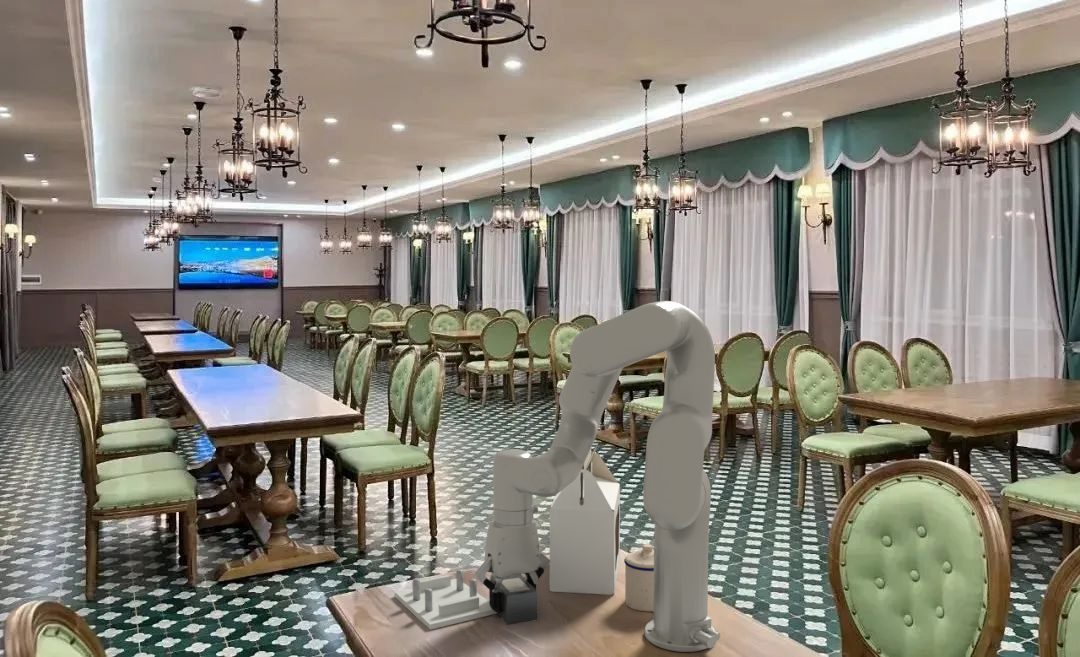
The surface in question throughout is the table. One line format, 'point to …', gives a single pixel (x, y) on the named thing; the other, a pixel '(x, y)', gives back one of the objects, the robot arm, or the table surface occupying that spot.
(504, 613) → the drive
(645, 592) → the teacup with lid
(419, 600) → the peg fixture base
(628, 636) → the table surface
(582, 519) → the gable box
